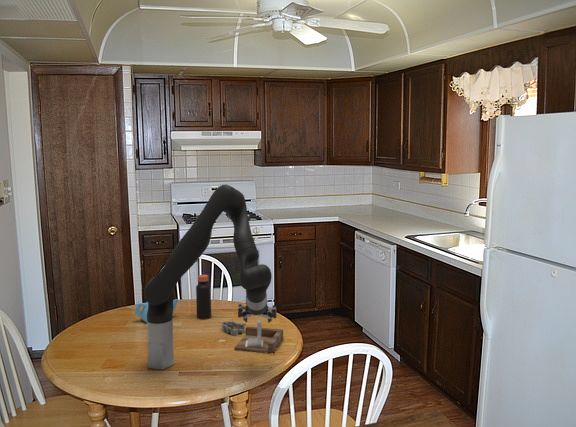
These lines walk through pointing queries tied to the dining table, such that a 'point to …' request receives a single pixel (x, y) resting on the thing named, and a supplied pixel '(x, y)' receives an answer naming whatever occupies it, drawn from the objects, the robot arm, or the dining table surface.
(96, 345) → the dining table surface
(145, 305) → the teapot
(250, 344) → the bracket
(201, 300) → the bottle
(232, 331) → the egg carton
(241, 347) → the arena
